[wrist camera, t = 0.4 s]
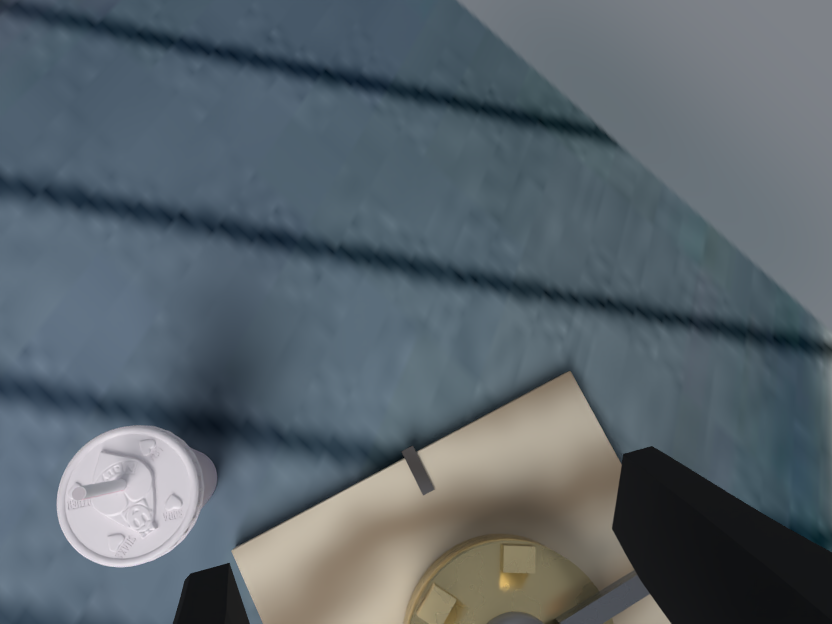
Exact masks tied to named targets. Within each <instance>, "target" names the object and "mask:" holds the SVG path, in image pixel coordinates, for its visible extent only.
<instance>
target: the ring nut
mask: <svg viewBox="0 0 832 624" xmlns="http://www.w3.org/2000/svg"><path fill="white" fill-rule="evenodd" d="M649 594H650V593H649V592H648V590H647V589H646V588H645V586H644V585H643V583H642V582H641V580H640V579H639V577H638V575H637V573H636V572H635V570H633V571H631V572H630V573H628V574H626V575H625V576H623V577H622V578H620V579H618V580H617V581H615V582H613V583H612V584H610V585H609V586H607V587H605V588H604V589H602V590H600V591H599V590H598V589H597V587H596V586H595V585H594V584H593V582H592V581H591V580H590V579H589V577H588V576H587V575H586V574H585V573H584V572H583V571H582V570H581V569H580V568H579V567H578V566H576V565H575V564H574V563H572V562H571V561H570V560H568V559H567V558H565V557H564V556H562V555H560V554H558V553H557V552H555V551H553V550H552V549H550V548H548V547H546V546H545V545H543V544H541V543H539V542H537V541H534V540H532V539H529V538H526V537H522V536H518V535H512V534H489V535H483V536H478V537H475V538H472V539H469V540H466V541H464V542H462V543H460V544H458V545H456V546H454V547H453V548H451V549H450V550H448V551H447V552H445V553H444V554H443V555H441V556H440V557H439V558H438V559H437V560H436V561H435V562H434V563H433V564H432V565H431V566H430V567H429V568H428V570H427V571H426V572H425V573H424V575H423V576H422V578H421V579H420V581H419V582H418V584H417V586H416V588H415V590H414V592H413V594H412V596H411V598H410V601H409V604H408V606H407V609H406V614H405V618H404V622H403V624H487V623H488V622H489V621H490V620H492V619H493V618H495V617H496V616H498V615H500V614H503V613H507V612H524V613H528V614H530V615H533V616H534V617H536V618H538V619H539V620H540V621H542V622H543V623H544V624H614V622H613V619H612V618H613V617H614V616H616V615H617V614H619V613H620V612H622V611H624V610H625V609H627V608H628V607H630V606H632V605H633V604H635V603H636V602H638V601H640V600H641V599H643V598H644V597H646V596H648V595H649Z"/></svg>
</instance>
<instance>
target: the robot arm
mask: <svg viewBox="0 0 832 624" xmlns="http://www.w3.org/2000/svg"><path fill="white" fill-rule="evenodd" d="M612 530H613V532H614V534H615V536H616V537H617V539H618V541H619V543H620V545H621V547H622V549H623V550H624V552H625V554H626V556H627V558H628V560H629V561H630V563H631V565H632V566H633V568H634V570H635V572H636V573H637V575H638V577H639V579H640V580H641V582H642V583H643V585H644V586H645V588H646V589H647V590H648V592H649V593H650V595H651V596H652V597H653V599H654V600H655V602H656V603H657V605H658V606H659V607H660V609H661V610H662V612H663V613H664V614H665V616H666V617H667V619H668V620H669V621H670V623H671V624H832V552H830V551H828V550H826V549H825V548H823V547H821V546H819V545H817V544H815V543H813V542H812V541H810V540H808V539H806V538H804V537H803V536H801V535H799V534H797V533H795V532H794V531H792V530H790V529H788V528H787V527H785V526H783V525H781V524H780V523H778V522H776V521H775V520H773V519H771V518H769V517H768V516H766V515H764V514H763V513H761V512H759V511H758V510H756V509H754V508H753V507H751V506H749V505H748V504H746V503H744V502H743V501H741V500H739V499H738V498H736V497H734V496H733V495H731V494H729V493H728V492H726V491H725V490H723V489H721V488H720V487H718V486H716V485H715V484H713V483H712V482H710V481H708V480H707V479H705V478H703V477H702V476H700V475H699V474H697V473H695V472H694V471H692V470H691V469H689V468H687V467H686V466H684V465H682V464H681V463H679V462H678V461H676V460H674V459H673V458H671V457H669V456H668V455H666V454H664V453H663V452H661V451H659V450H658V449H656V448H654V447H652V446H651V447H647V448H643V449H640V450H636V451H633V452H629V453H625V454H623V460H622V467H621V473H620V479H619V486H618V492H617V499H616V505H615V512H614V518H613V524H612ZM173 624H250V623H249V620H248V617H247V614H246V611H245V608H244V605H243V602H242V599H241V596H240V593H239V590H238V587H237V584H236V581H235V578H234V575H233V572H232V569H231V566H230V563H227V564H224V565H220V566H216V567H213V568H209V569H206V570H202V571H198V572H195V573H191V574H190V575H189V576H188V577H187V578H186V579H185V581H184V585H183V589H182V593H181V597H180V601H179V604H178V608H177V611H176V615H175V618H174V621H173Z"/></svg>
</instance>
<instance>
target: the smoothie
mask: <svg viewBox="0 0 832 624" xmlns="http://www.w3.org/2000/svg"><path fill="white" fill-rule="evenodd" d="M216 484H217V472H216V468H215V466H214V464H213V462H212V461H211V459H210V458H209V457H208V456H206V455H205V454H203V453H201V452H199V451H197V450H195V449H192V448H190V447H189V446H188V445H187V444H186V443H185V441H184V440H182V439H181V438H179V437H178V436H176V435H175V434H173V433H172V432H170V431H167V430H164V429H161V428H158V427H155V426H142V425H134V426H127V427H121V428H117V429H113V430H110V431H107V432H105V433H103V434H101V435H99V436H97V437H95V438H94V439H92V440H91V441H89V442H88V443H87V444H86V445H85V446H83V447H82V448H81V449H80V450H79V451H78V452H77V453H76V455H75V456H74V457H73V458H72V460H71V461H70V463H69V464H68V466H67V468H66V469H65V472H64V474H63V476H62V479H61V481H60V485H59V489H58V495H57V513H58V519H59V523H60V526H61V528H62V531H63V533H64V535H65V537H66V538H67V540H68V541H69V543H70V544H71V545H72V546H73V547H74V548H75V549H76V550H77V551H78V552H79V553H80V554H81V555H83V556H84V557H86V558H87V559H89V560H91V561H93V562H96V563H99V564H101V565H106V566H111V567H130V566H135V565H139V564H143V563H146V562H149V561H153V560H155V559H157V558H159V557H160V556H162V555H164V554H166V553H168V552H170V551H171V550H172V549H173V548H175V547H176V546H177V545H178V544H179V543H180V542H181V541H182V540H184V539H185V537H186V536H187V534H188V533H189V532H190V530H191V529H192V527H193V526H194V524H195V523H196V520H197V518H198V515H199V513H200V510H201V508H202V507H203V506H204V505H205V504H206V502H207V501H208V500H209V499H210V497H211V496H212V494H213V493H214V491H215V488H216Z"/></svg>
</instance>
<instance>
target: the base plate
mask: <svg viewBox="0 0 832 624" xmlns="http://www.w3.org/2000/svg"><path fill="white" fill-rule="evenodd" d="M401 452H402V454H403V456H404V458H403V459H401V460H399V461H398V462H396V463H394V464H392V465H390V466H388V467H386V468H384V469H382V470H381V471H379V472H377V473H375V474H373V475H371V476H369V477H367V478H365V479H364V480H362V481H360V482H358V483H356V484H354V485H352V486H350V487H349V488H347V489H345V490H343V491H341V492H339V493H337V494H335V495H333V496H332V497H330V498H328V499H326V500H324V501H322V502H320V503H318V504H316V505H315V506H313V507H311V508H309V509H307V510H305V511H303V512H301V513H299V514H298V515H296V516H294V517H292V518H290V519H288V520H286V521H284V522H282V523H281V524H279V525H277V526H275V527H273V528H271V529H269V530H267V531H266V532H264V533H262V534H260V535H258V536H256V537H254V538H252V539H250V540H249V541H247V542H245V543H243V544H241V545H239V546H237V547H235V548H234V549H233V550H232V553H233V555H234V558H235V560H236V562H237V565H238V567H239V569H240V571H241V574H242V576H243V578H244V581H245V583H246V585H247V588H248V590H249V592H250V594H251V597H252V599H253V601H254V604H255V606H256V608H257V610H258V613H259V615H260V617H261V620H262V622H263V624H403V622H404V618H405V614H406V609H407V606H408V604H409V601H410V598H411V596H412V594H413V592H414V590H415V588H416V586H417V584H418V582H419V581H420V579H421V578H422V576H423V575H424V573H425V572H426V571H427V570H428V568H429V567H430V566H431V565H432V564H433V563H434V562H435V561H436V560H437V559H438V558H439V557H440V556H441V555H443V554H444V553H445V552H447V551H448V550H450V549H451V548H453V547H454V546H456V545H458V544H460V543H462V542H464V541H466V540H469V539H472V538H475V537H478V536H483V535H489V534H512V535H518V536H522V537H526V538H529V539H532V540H534V541H537V542H539V543H541V544H543V545H545V546H546V547H548V548H550V549H552V550H553V551H555V552H557V553H558V554H560V555H562V556H564V557H565V558H567V559H568V560H570V561H571V562H572V563H574V564H575V565H576V566H578V567H579V568H580V569H581V570H582V571H583V572H584V573H585V574H586V575H587V576H588V577H589V579H590V580H591V581H592V582H593V584H594V585H595V586H596V587H597V589H598V590H599V591H600V590H602V589H604V588H605V587H607V586H609V585H610V584H612V583H613V582H615V581H617V580H618V579H620V578H622V577H623V576H625V575H626V574H628V573H630V572H631V571H633V570H634V568H633V566H632V565H631V563H630V561H629V560H628V558H627V556H626V554H625V552H624V550H623V549H622V547H621V545H620V543H619V541H618V539H617V537H616V536H615V534H614V532H613V530H612V524H613V518H614V512H615V505H616V499H617V492H618V486H619V479H620V473H621V467H622V464H621V463H620V461H619V459H618V457H617V455H616V453H615V452H614V450H613V448H612V446H611V444H610V442H609V441H608V439H607V437H606V435H605V433H604V431H603V430H602V428H601V426H600V424H599V422H598V421H597V419H596V417H595V415H594V413H593V411H592V410H591V408H590V406H589V404H588V402H587V400H586V399H585V397H584V395H583V393H582V391H581V389H580V388H579V386H578V384H577V382H576V380H575V379H574V377H573V375H572V373H571V371H569V372H566V373H564V374H562V375H560V376H558V377H556V378H554V379H552V380H550V381H548V382H547V383H545V384H543V385H541V386H539V387H537V388H535V389H533V390H531V391H530V392H528V393H526V394H524V395H522V396H520V397H518V398H516V399H514V400H513V401H511V402H509V403H507V404H505V405H503V406H501V407H499V408H498V409H496V410H494V411H492V412H490V413H488V414H486V415H484V416H482V417H481V418H479V419H477V420H475V421H473V422H471V423H469V424H467V425H465V426H464V427H462V428H460V429H458V430H456V431H454V432H452V433H450V434H448V435H447V436H445V437H443V438H441V439H439V440H437V441H435V442H433V443H431V444H430V445H428V446H426V447H424V448H422V449H420V450H418V451H415V449H414V447H413V446H411V447H409V448H407V449H405V450H403V451H401ZM612 619H613V622H614V624H671V623H670V621H669V620H668V619H667V617H666V616H665V614H664V613H663V612H662V610H661V609H660V607H659V606H658V605H657V603H656V602H655V600H654V599H653V597H652V596H651V595H650V594H649V595H648V596H646V597H644V598H643V599H641V600H640V601H638V602H636V603H635V604H633V605H632V606H630V607H628V608H627V609H625V610H624V611H622V612H620V613H619V614H617V615H616V616H614V617H613V618H612ZM487 624H544V623H543V622H542V621H540V620H539V619H538V618H536V617H534V616H533V615H530V614H528V613H524V612H507V613H503V614H500V615H498V616H496V617H495V618H493V619H492V620H490V621H489V622H488V623H487Z"/></svg>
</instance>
